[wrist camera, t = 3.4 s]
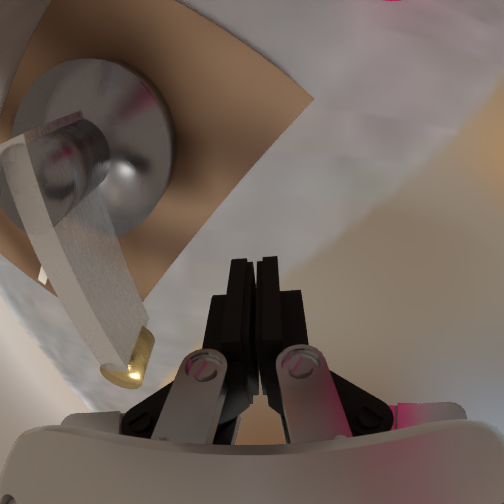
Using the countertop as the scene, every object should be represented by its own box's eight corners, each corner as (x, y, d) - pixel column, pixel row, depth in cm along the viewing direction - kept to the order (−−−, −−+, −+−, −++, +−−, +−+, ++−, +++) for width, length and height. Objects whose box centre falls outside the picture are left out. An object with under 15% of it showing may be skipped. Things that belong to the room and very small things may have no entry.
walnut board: (98, -34, 9) (79, -42, 7) (308, 95, 13) (314, 98, 12) (-7, 222, 18) (-23, 236, 16) (125, 318, 22) (116, 337, 21)
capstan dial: (14, 92, 11) (-58, 118, 6) (160, 34, 10) (101, 20, 6) (97, 320, 20) (69, 379, 15) (217, 321, 19) (206, 394, 14)
